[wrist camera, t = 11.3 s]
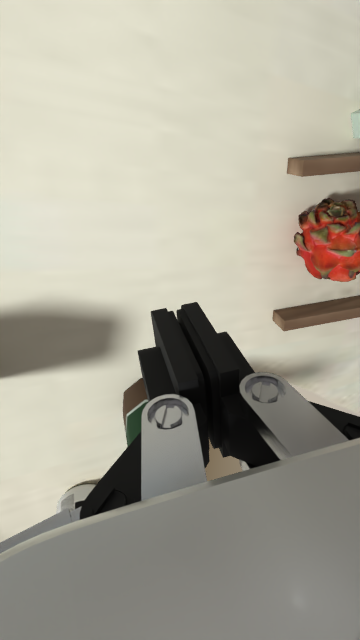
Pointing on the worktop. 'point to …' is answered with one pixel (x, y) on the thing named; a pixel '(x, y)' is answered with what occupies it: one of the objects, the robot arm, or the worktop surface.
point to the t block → (356, 123)
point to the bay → (333, 308)
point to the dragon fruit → (331, 240)
